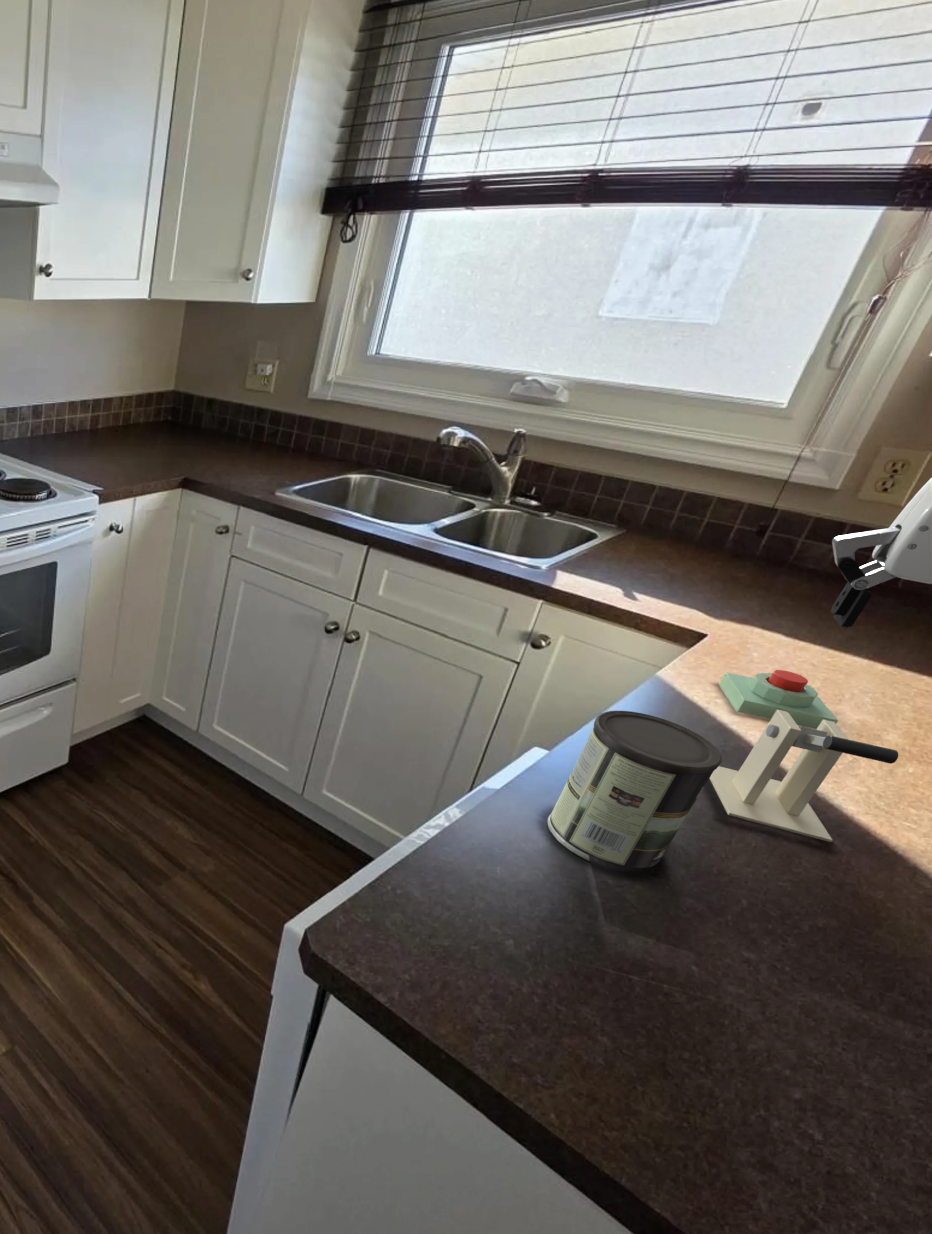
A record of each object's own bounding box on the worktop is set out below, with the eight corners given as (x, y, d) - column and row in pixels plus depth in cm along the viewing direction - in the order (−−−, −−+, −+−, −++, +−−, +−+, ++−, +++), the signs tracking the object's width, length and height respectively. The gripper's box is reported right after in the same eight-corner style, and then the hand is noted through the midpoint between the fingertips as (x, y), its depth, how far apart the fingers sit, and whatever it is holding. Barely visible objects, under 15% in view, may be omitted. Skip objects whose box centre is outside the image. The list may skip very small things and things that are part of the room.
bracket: (827, 848, 86) (890, 763, 81) (724, 820, 90) (777, 737, 84) (791, 792, 95) (845, 712, 89) (699, 769, 98) (745, 691, 93)
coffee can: (638, 823, 89) (696, 722, 82) (674, 886, 80) (742, 778, 74) (535, 800, 92) (583, 701, 85) (559, 858, 84) (614, 753, 77)
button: (796, 684, 111) (802, 673, 110) (805, 696, 108) (812, 685, 107) (763, 677, 112) (770, 667, 112) (772, 689, 110) (778, 678, 109)
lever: (894, 769, 77) (902, 746, 77) (827, 754, 79) (835, 731, 79) (822, 753, 88) (829, 733, 88) (765, 740, 90) (772, 720, 90)
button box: (805, 702, 114) (819, 679, 112) (829, 733, 106) (845, 709, 105) (718, 684, 118) (731, 661, 116) (736, 713, 111) (750, 689, 109)
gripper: (1152, 476, 67) (1019, 647, 76) (876, 443, 76) (783, 600, 84) (1204, 497, 62) (1055, 679, 70) (900, 459, 70) (799, 625, 78)
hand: (907, 636), depth 77 cm, fingers open, 9 cm apart
